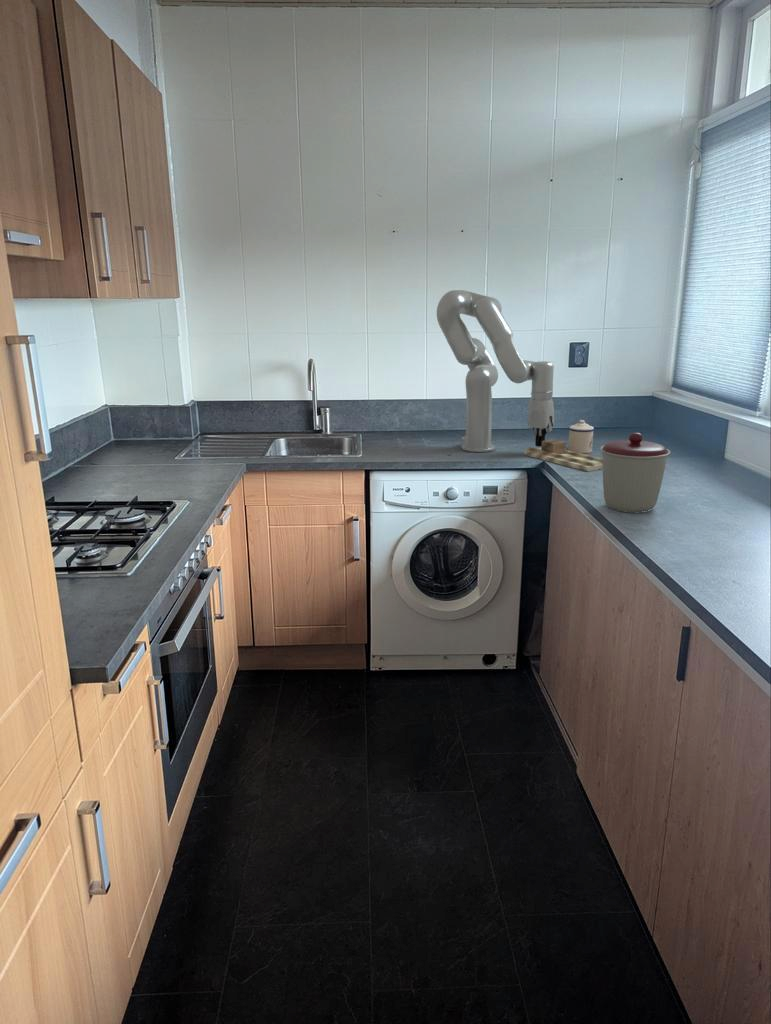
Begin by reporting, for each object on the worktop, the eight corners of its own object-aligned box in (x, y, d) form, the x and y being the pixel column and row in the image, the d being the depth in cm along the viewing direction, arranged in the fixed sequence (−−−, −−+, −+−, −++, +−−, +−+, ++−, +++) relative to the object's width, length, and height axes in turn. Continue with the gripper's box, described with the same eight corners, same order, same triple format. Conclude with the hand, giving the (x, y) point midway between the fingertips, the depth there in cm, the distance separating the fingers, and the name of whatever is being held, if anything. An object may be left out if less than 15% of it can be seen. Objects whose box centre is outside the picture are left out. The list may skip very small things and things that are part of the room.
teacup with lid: (595, 453, 268) (597, 422, 265) (570, 454, 269) (572, 422, 265) (587, 447, 280) (589, 417, 277) (563, 447, 280) (565, 417, 277)
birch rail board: (523, 454, 269) (524, 447, 268) (548, 450, 274) (548, 444, 274) (587, 471, 242) (588, 464, 241) (613, 467, 248) (613, 459, 247)
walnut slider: (541, 451, 265) (541, 441, 263) (553, 450, 268) (554, 439, 266) (552, 454, 260) (553, 443, 258) (565, 452, 263) (565, 441, 261)
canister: (679, 513, 196) (687, 436, 190) (623, 520, 190) (630, 441, 184) (634, 496, 212) (641, 425, 206) (582, 503, 206) (587, 429, 200)
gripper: (520, 395, 269) (518, 444, 274) (548, 399, 256) (546, 450, 261) (535, 393, 272) (533, 441, 277) (564, 397, 260) (561, 447, 265)
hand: (539, 445), depth 269 cm, fingers closed
